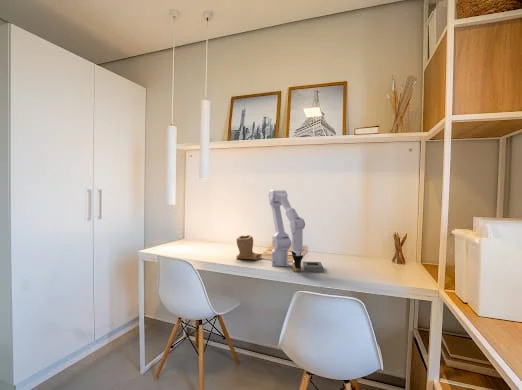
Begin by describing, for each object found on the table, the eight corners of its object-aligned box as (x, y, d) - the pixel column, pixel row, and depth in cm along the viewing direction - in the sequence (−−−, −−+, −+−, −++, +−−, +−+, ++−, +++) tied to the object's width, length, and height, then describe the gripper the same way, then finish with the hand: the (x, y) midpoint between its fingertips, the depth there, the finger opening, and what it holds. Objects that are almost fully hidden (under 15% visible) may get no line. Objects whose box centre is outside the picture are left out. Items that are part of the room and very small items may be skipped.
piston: (292, 272, 150) (292, 261, 150) (292, 270, 155) (292, 259, 155) (301, 272, 150) (301, 261, 150) (300, 270, 155) (300, 259, 154)
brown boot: (232, 260, 175) (233, 236, 174) (240, 256, 186) (240, 233, 186) (255, 262, 170) (256, 237, 170) (262, 258, 181) (262, 234, 181)
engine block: (304, 271, 152) (304, 266, 152) (302, 266, 162) (302, 261, 162) (323, 272, 151) (323, 266, 151) (320, 267, 161) (320, 261, 161)
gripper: (306, 243, 145) (305, 270, 145) (303, 239, 159) (303, 263, 159) (292, 243, 145) (291, 269, 145) (290, 238, 159) (290, 262, 160)
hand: (296, 266), depth 152 cm, fingers open, 7 cm apart
